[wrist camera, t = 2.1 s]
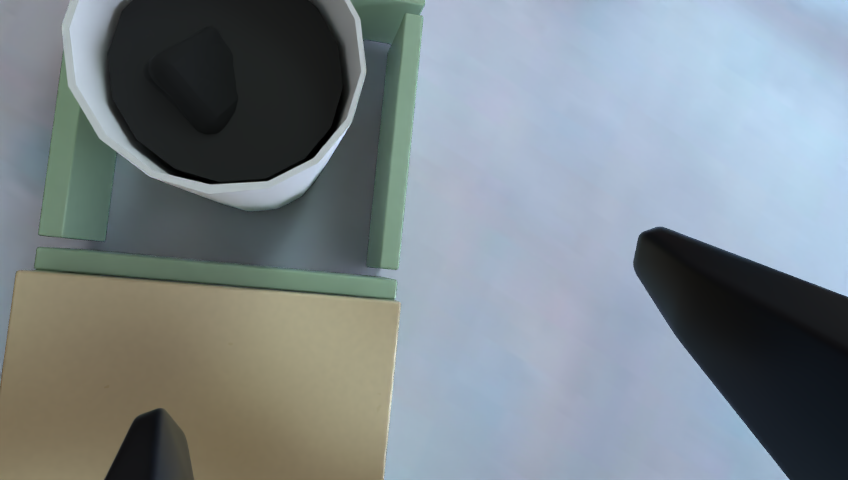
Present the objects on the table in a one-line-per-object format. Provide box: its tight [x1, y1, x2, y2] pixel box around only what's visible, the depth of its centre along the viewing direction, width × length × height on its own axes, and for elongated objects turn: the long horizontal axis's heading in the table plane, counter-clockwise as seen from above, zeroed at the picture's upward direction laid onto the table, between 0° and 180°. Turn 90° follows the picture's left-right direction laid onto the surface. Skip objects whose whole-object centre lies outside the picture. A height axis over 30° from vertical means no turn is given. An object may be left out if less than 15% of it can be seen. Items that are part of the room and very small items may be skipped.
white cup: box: [61, 0, 367, 212], centre depth 18 cm, size 7×7×10 cm
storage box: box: [34, 0, 425, 300], centre depth 20 cm, size 23×11×4 cm, turn 174°
